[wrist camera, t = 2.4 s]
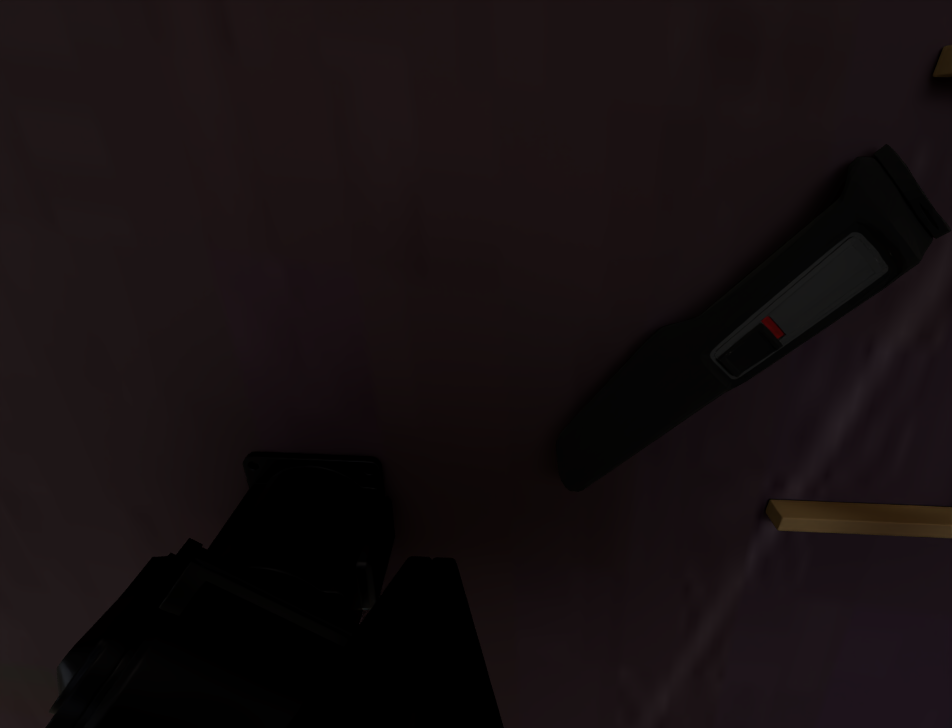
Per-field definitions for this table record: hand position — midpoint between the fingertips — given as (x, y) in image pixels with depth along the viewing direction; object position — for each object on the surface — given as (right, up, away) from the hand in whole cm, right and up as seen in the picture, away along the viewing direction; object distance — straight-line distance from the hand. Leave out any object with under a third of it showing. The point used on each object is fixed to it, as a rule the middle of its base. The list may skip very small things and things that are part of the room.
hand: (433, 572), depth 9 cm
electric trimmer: (+10, +5, +10) cm, 15 cm away
